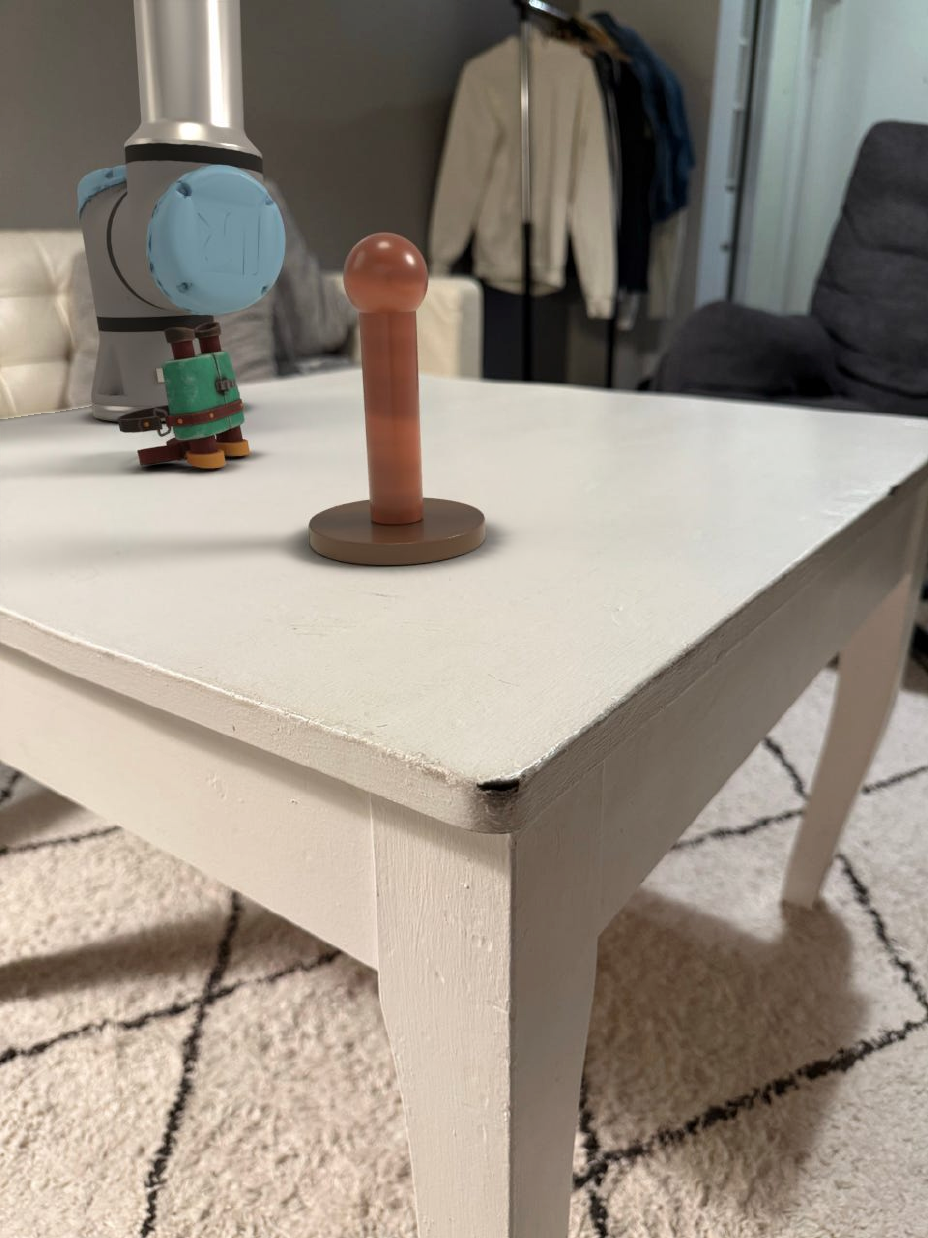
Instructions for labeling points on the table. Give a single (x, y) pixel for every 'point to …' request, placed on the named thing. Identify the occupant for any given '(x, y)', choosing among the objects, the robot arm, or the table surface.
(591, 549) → the table surface
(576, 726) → the table surface
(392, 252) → the marker post
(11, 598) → the table surface
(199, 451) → the binoculars
